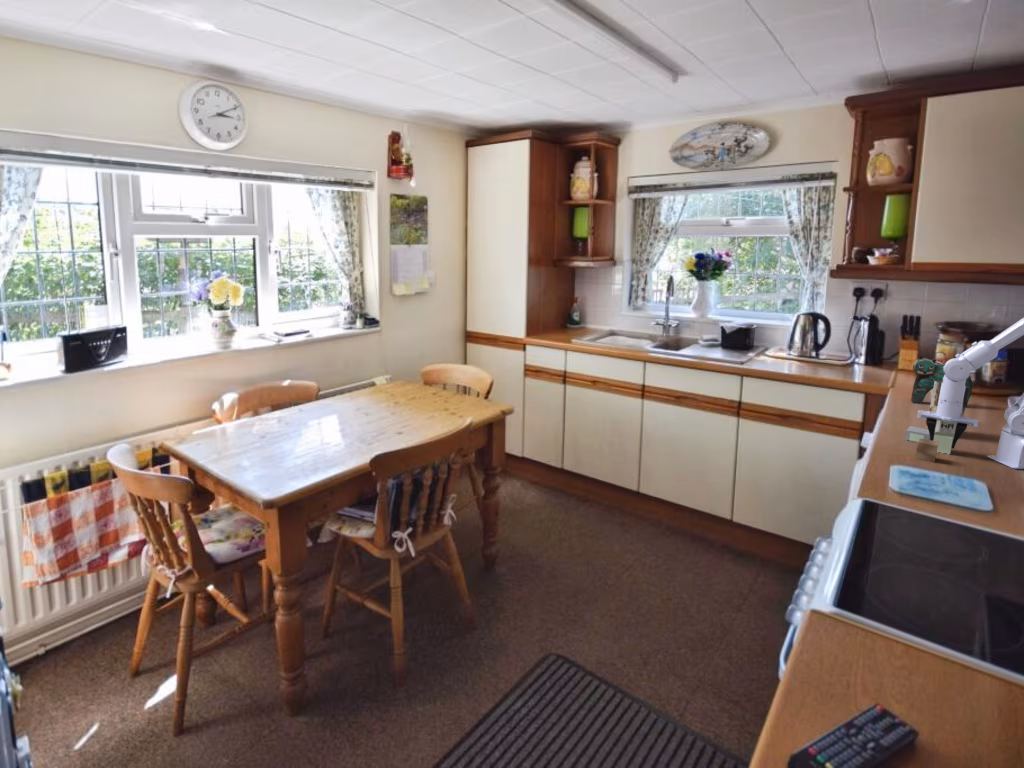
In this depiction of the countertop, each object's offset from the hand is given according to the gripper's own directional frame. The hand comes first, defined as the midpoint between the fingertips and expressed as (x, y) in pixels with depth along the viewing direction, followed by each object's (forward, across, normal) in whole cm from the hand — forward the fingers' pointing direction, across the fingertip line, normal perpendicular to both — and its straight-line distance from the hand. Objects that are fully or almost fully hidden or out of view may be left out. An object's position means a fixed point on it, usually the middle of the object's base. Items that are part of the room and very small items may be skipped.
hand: (942, 445), depth 185 cm
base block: (+2, -6, +7) cm, 10 cm away
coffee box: (+2, -1, +22) cm, 22 cm away
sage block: (+2, 0, 0) cm, 2 cm away
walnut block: (+2, -3, -11) cm, 12 cm away
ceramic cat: (+2, -6, +65) cm, 65 cm away
